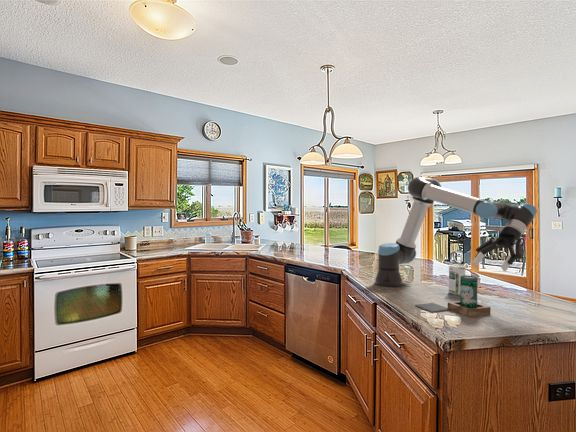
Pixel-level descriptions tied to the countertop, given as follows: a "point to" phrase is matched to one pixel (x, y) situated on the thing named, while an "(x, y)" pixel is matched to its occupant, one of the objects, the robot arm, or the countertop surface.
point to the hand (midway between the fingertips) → (488, 266)
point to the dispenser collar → (469, 309)
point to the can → (468, 291)
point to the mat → (432, 307)
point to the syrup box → (455, 278)
